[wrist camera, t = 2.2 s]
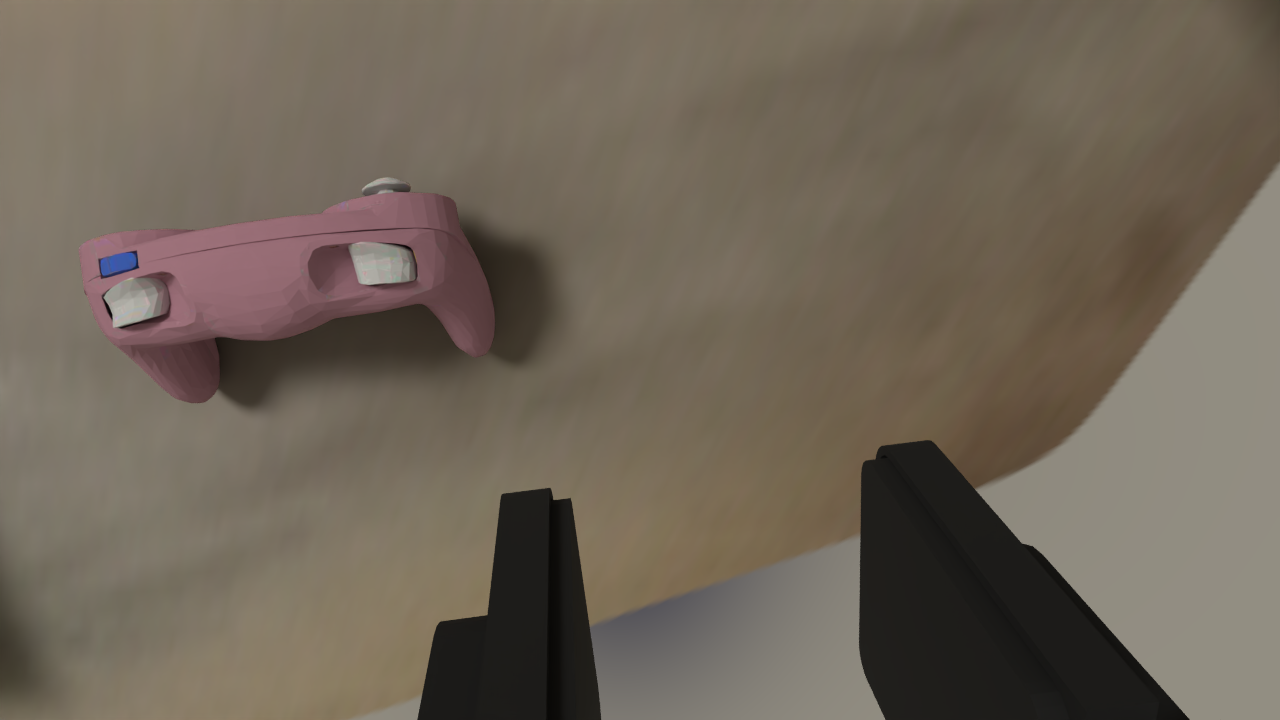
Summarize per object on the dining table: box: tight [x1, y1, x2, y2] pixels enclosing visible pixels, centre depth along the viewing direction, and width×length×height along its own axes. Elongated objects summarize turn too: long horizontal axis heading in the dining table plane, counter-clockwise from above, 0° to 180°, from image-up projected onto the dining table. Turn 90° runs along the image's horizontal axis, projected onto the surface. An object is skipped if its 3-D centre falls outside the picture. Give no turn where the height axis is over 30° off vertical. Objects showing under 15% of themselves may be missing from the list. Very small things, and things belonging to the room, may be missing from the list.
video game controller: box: [79, 178, 495, 403], centre depth 23 cm, size 10×5×7 cm, turn 98°
